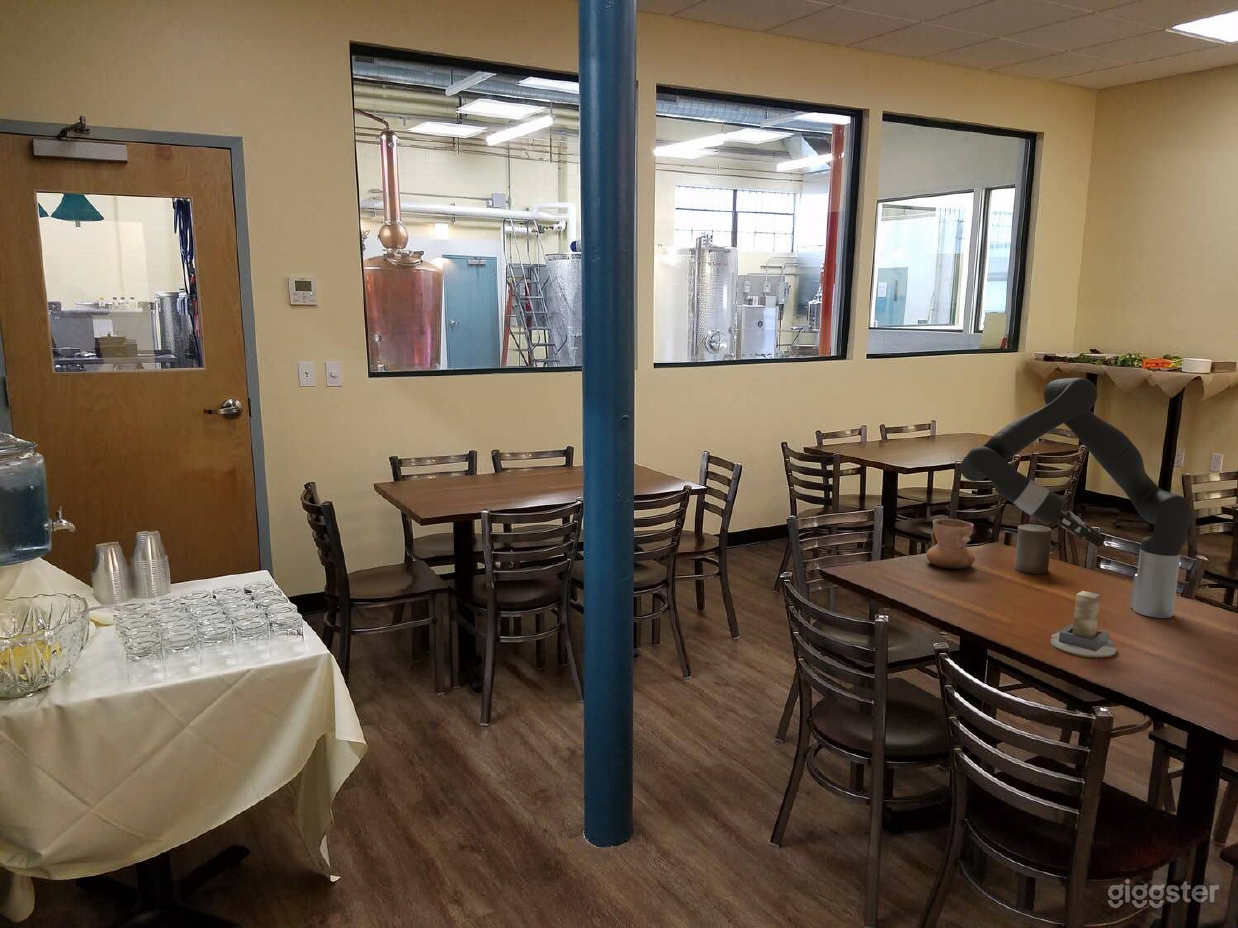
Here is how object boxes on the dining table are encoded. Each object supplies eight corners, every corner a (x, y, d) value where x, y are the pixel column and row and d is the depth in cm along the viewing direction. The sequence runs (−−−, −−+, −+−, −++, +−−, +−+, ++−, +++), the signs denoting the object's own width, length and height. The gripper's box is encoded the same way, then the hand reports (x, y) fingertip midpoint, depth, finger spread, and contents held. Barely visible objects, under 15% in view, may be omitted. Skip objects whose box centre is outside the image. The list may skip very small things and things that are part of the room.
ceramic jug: (986, 572, 269) (989, 527, 267) (943, 574, 266) (947, 529, 264) (953, 557, 286) (956, 515, 284) (913, 559, 283) (916, 516, 281)
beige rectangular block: (1071, 641, 209) (1076, 594, 207) (1077, 637, 212) (1082, 590, 210) (1089, 646, 206) (1094, 598, 204) (1095, 642, 209) (1100, 594, 207)
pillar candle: (1055, 573, 268) (1059, 526, 266) (1027, 575, 266) (1032, 527, 264) (1034, 565, 278) (1038, 519, 275) (1007, 566, 275) (1011, 520, 273)
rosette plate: (1041, 645, 210) (1043, 631, 209) (1062, 631, 219) (1064, 617, 219) (1104, 662, 200) (1106, 647, 199) (1123, 647, 209) (1125, 632, 209)
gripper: (1050, 492, 204) (1114, 533, 199) (1046, 486, 217) (1106, 523, 212) (1030, 518, 206) (1093, 558, 201) (1027, 510, 219) (1086, 547, 214)
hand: (1100, 540), depth 207 cm, fingers open, 8 cm apart
